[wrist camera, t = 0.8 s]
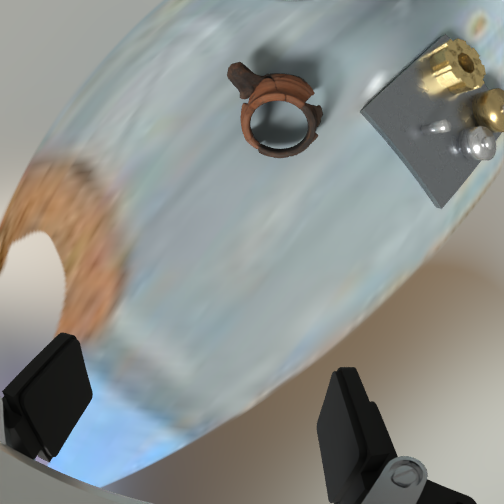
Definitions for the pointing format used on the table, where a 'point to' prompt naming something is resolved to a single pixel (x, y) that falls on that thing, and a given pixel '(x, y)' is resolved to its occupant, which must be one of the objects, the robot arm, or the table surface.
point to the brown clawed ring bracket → (273, 90)
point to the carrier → (437, 126)
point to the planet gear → (457, 66)
